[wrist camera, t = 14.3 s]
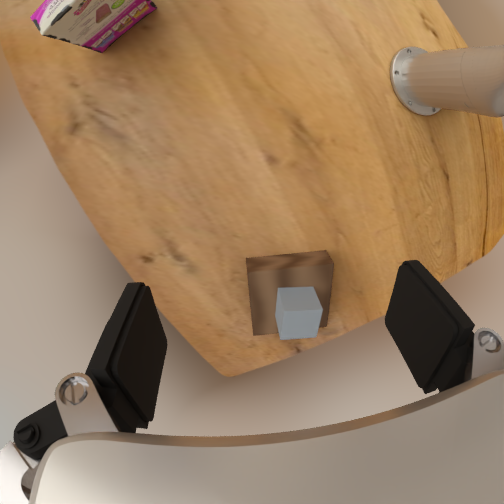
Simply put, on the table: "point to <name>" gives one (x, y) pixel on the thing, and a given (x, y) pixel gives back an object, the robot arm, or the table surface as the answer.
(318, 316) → the slate cube
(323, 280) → the walnut block
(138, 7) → the candy bar box
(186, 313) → the table surface
